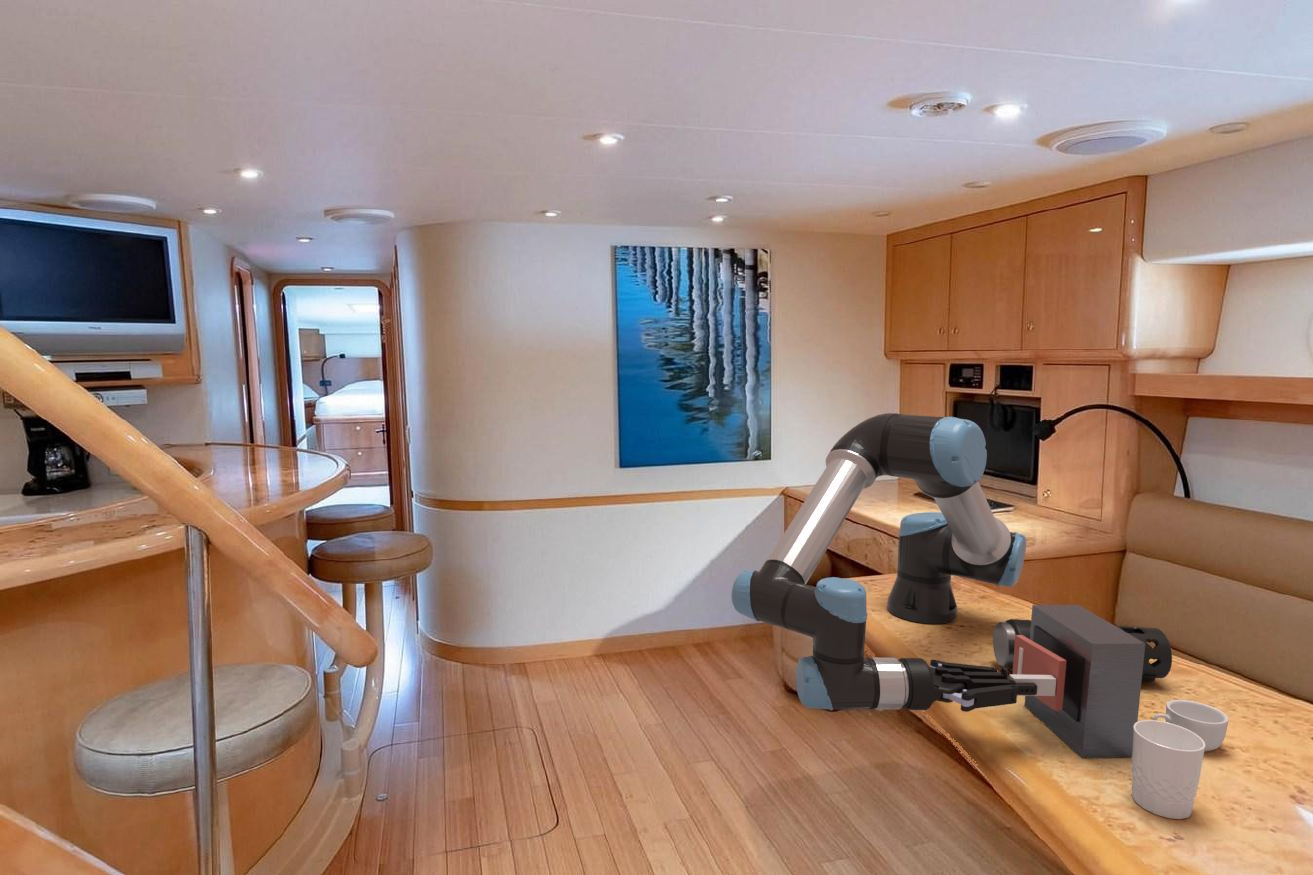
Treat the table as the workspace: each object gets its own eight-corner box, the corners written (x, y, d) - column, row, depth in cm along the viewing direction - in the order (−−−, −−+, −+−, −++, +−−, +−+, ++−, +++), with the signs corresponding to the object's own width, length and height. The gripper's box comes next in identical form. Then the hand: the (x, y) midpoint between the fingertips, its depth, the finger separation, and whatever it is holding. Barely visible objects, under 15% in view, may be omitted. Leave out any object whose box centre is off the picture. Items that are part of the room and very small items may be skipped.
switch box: (1022, 705, 125) (1030, 605, 123) (1069, 705, 126) (1078, 604, 123) (1080, 758, 109) (1090, 643, 107) (1133, 757, 110) (1145, 643, 107)
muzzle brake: (1170, 693, 131) (1176, 638, 129) (1006, 683, 134) (1011, 629, 132) (1141, 670, 140) (1146, 618, 139) (989, 661, 143) (993, 610, 142)
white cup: (1113, 787, 102) (1119, 720, 101) (1165, 785, 103) (1173, 718, 102) (1156, 824, 94) (1163, 752, 93) (1212, 821, 95) (1221, 749, 94)
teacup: (1206, 733, 117) (1209, 701, 116) (1236, 759, 110) (1240, 726, 109) (1138, 727, 119) (1141, 696, 118) (1163, 753, 111) (1167, 720, 110)
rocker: (1010, 681, 121) (1014, 635, 120) (1018, 680, 121) (1021, 634, 120) (1054, 710, 111) (1058, 661, 110) (1062, 710, 112) (1066, 660, 111)
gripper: (884, 687, 118) (1028, 689, 118) (914, 728, 105) (1075, 730, 105) (887, 643, 117) (1032, 644, 118) (917, 679, 104) (1080, 680, 105)
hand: (1052, 685), depth 111 cm, fingers closed
